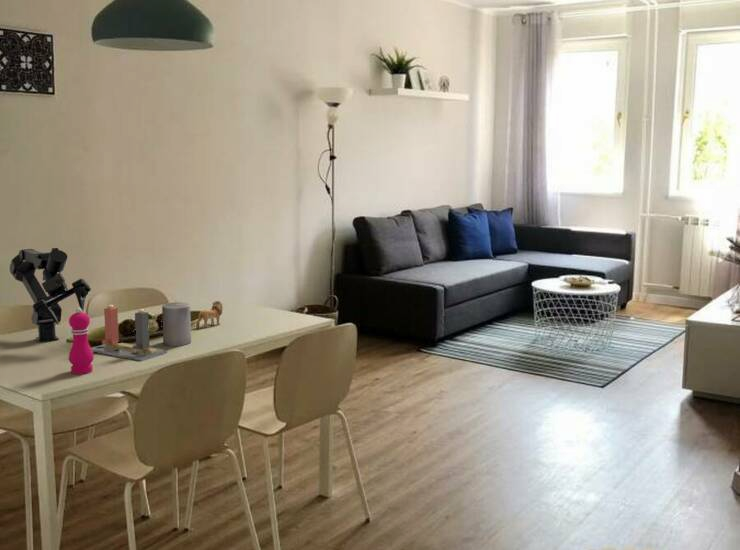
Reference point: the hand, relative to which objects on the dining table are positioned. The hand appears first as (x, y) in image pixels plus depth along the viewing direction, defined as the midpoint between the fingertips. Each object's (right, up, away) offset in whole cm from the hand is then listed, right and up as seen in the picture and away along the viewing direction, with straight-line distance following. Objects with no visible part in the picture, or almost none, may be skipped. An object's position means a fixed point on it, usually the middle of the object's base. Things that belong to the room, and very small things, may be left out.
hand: (69, 316), depth 271 cm
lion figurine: (+39, -6, +42) cm, 57 cm away
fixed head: (+24, -11, -2) cm, 27 cm away
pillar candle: (+33, -10, +14) cm, 37 cm away
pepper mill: (+12, -16, -22) cm, 30 cm away
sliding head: (+12, -10, +5) cm, 16 cm away
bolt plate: (+19, -12, +1) cm, 23 cm away
